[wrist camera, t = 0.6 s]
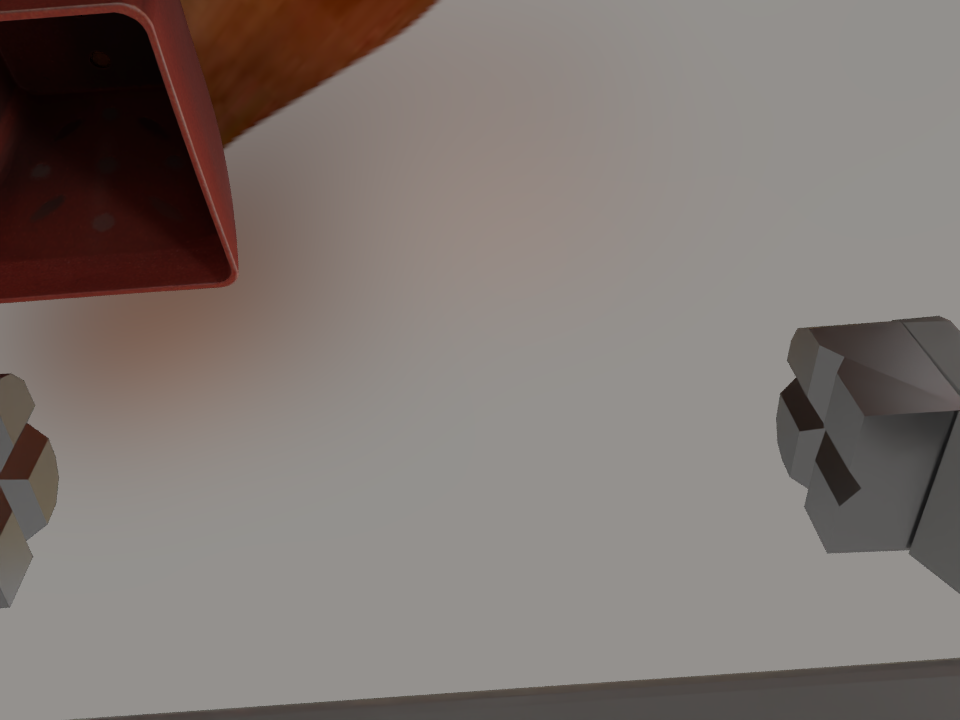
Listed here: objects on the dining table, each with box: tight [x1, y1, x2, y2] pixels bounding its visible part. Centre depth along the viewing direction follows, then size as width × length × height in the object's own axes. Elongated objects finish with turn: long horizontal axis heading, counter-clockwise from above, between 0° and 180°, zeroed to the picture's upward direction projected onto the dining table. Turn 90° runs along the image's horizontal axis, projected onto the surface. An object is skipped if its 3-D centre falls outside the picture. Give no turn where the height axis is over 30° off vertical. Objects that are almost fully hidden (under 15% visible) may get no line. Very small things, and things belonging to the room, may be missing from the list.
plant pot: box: [0, 0, 238, 303], centre depth 53 cm, size 19×19×17 cm
